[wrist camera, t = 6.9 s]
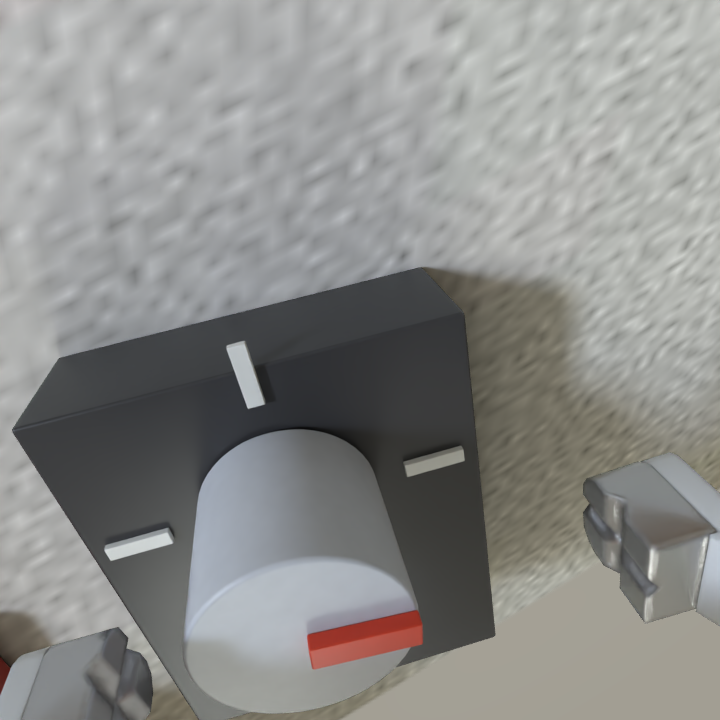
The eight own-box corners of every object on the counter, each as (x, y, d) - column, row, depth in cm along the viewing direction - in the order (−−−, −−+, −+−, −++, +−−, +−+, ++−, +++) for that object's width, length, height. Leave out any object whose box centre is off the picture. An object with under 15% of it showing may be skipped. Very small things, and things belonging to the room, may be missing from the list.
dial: (218, 579, 13) (208, 755, 9) (178, 445, 11) (149, 608, 7) (380, 545, 13) (426, 700, 10) (371, 412, 11) (424, 551, 8)
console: (45, 334, 12) (-12, 409, 9) (418, 242, 13) (465, 287, 10) (208, 634, 18) (202, 734, 15) (461, 559, 19) (498, 642, 16)
